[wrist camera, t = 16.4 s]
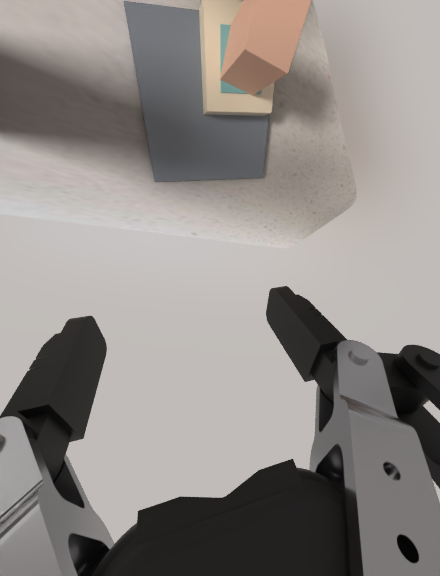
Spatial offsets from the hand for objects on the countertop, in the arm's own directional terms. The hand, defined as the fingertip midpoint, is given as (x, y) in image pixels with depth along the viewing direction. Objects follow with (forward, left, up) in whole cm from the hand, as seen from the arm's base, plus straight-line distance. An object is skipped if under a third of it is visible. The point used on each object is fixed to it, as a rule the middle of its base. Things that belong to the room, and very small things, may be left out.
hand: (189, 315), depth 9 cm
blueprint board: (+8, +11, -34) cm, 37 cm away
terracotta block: (+12, +16, -30) cm, 36 cm away
